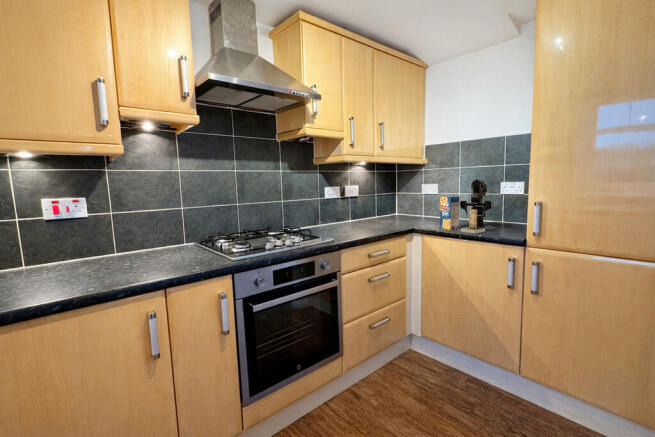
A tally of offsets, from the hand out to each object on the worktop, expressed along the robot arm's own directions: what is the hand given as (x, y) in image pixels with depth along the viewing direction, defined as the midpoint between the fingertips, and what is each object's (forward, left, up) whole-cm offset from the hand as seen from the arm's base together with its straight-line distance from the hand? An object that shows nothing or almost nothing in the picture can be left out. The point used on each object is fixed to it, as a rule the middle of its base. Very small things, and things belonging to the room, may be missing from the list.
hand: (474, 214), depth 198 cm
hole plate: (+3, -6, -10) cm, 12 cm away
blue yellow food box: (-14, -7, -10) cm, 18 cm away
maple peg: (+3, -6, -10) cm, 12 cm away
